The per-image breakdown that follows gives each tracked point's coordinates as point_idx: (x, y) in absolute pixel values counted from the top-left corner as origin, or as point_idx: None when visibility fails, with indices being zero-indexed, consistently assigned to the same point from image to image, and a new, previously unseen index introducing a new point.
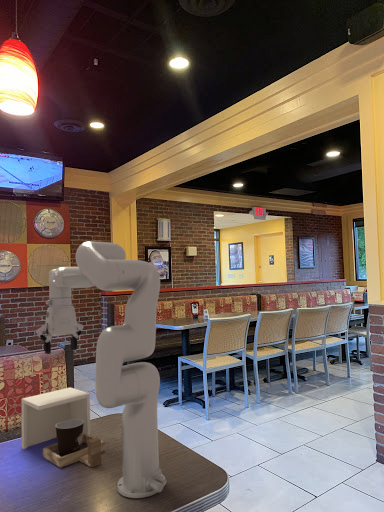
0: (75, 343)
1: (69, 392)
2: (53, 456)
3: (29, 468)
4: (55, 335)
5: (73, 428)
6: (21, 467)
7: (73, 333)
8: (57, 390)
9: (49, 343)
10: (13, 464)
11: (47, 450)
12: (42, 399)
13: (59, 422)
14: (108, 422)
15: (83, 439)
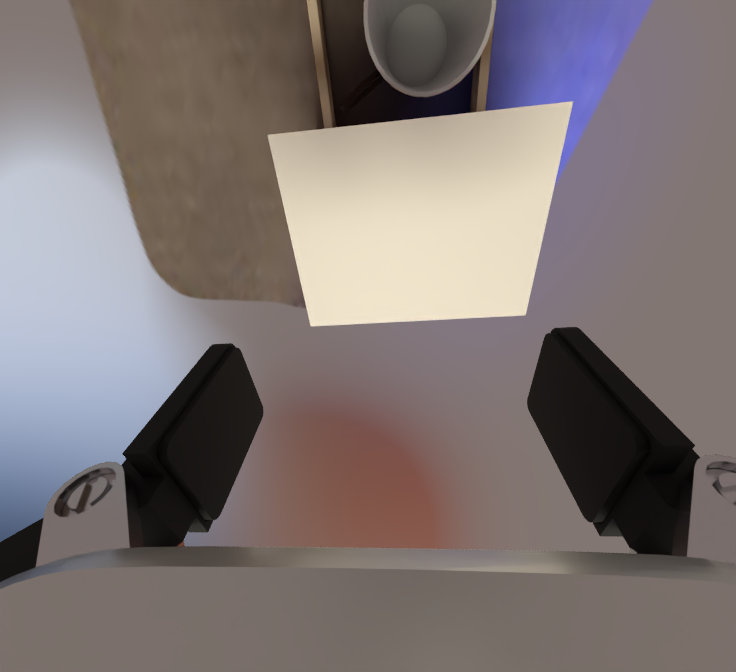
0: (189, 391)
1: (344, 245)
2: None
3: (545, 60)
4: (718, 572)
5: None
6: (553, 94)
7: (84, 556)
8: (370, 320)
9: (659, 426)
10: None
11: (486, 78)
12: (484, 227)
13: (450, 84)
14: (223, 248)
15: None
